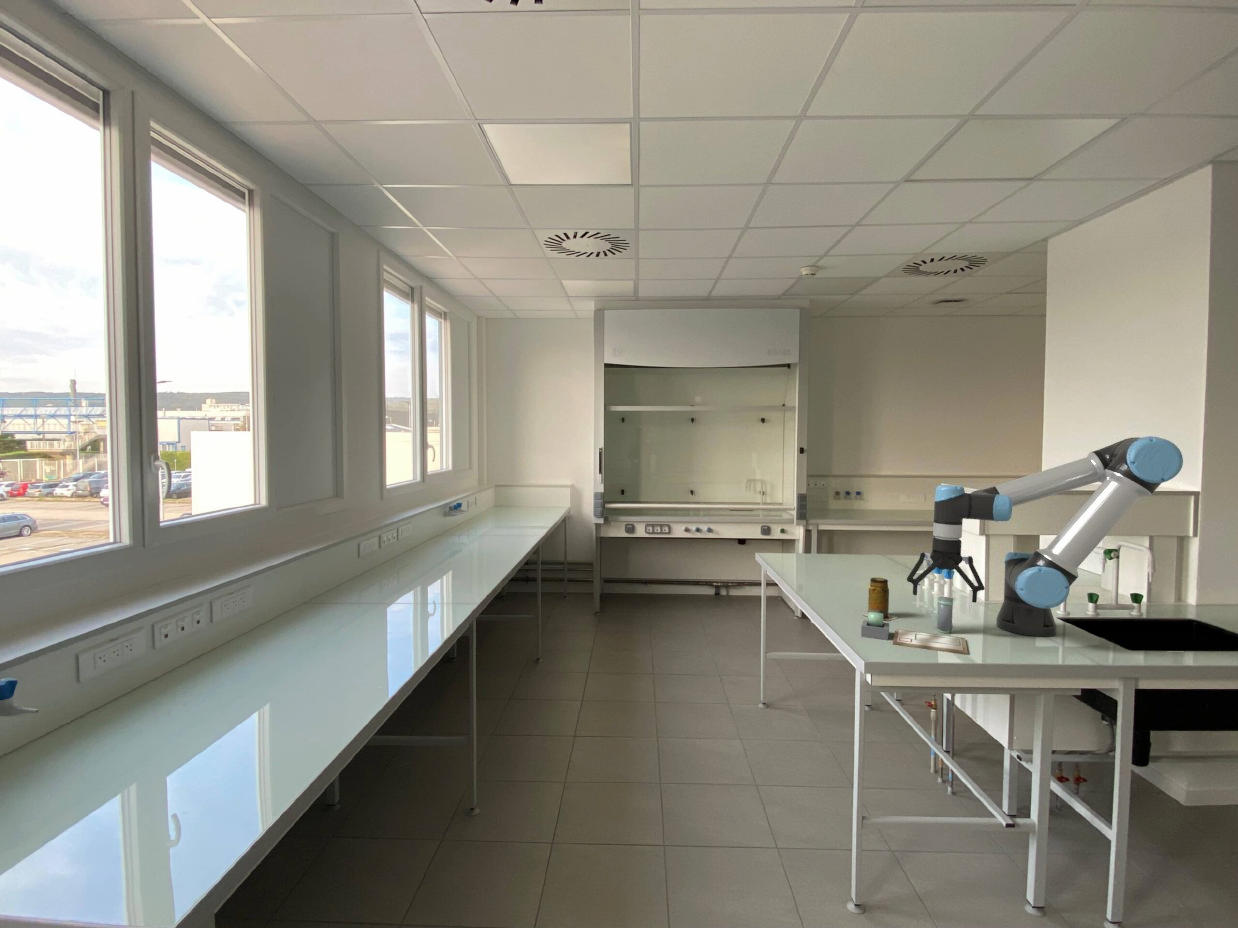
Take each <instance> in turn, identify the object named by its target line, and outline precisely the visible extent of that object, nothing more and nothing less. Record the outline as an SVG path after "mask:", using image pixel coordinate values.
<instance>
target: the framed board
mask: <svg viewBox="0 0 1238 928" xmlns="http://www.w3.org/2000/svg"><path fill="white" fill-rule="evenodd" d="M893 634H894V635H893V639H892V640H893V641H892V645H895V646H903V647H910V648H916V649H917V648H918V649H923V650H924V649H925V650H932V651H938V652H945V653H953V654H961V655H967V656H968V649H967V648H968V647H967V641H966V638H965V637H959V636H955V635H954V636H953V635H946V634H938V633H936V634H935V633H929V632H921V631H914V630H906V629H898V628H895V629H894V633H893Z"/></svg>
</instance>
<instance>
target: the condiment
mask: <svg viewBox="0 0 1238 928" xmlns="http://www.w3.org/2000/svg"><path fill="white" fill-rule="evenodd" d="M869 582H870V583H869V587H868V599H867V604H868V605H867V612H868V613H869V612H880V613H883V621H893V620H895V619H898V618H899V617H898V616H896V615H892V614H891V615H890V614H889V610H890V609H889V608H890V607H889V606H890V605H889V603H890V602H889V600H890V589H889V584H888V583H889V580H888V579H887V578H883V577H871V578H870V581H869ZM868 613H864V614H863V616H865V617H868Z"/></svg>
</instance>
